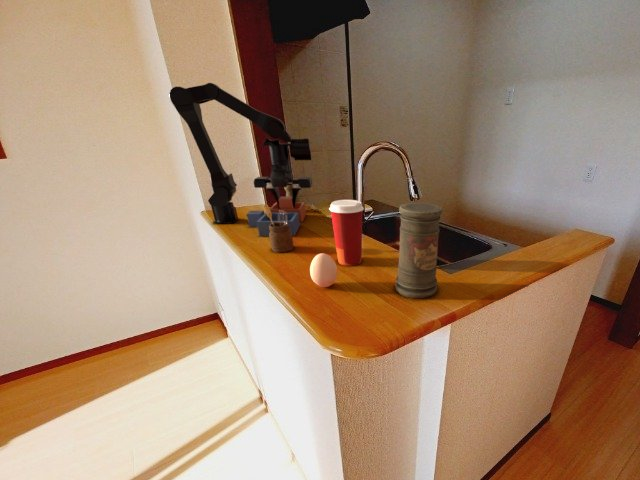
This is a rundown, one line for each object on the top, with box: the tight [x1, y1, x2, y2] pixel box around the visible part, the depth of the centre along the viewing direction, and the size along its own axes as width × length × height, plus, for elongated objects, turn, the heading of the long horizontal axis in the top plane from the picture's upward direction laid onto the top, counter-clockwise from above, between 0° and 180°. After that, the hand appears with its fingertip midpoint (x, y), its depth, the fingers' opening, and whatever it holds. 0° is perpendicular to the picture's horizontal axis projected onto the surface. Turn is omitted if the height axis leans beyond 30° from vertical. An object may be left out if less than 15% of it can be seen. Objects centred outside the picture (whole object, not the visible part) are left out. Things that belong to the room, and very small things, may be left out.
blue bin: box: [257, 212, 301, 237], centre depth 103 cm, size 11×11×5 cm
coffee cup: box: [328, 199, 365, 267], centre depth 79 cm, size 8×8×15 cm
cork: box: [283, 185, 301, 202], centre depth 124 cm, size 6×6×11 cm
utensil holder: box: [263, 204, 294, 253], centre depth 87 cm, size 6×6×12 cm
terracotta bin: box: [269, 201, 307, 223], centre depth 116 cm, size 11×11×5 cm
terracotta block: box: [279, 196, 295, 209], centre depth 114 cm, size 4×4×4 cm
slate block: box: [246, 210, 265, 228], centre depth 108 cm, size 4×4×4 cm
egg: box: [309, 252, 338, 288], centre depth 69 cm, size 6×6×8 cm
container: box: [394, 202, 443, 299], centre depth 66 cm, size 9×9×18 cm
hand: (287, 207), depth 115 cm, fingers closed on terracotta block, 4 cm apart
